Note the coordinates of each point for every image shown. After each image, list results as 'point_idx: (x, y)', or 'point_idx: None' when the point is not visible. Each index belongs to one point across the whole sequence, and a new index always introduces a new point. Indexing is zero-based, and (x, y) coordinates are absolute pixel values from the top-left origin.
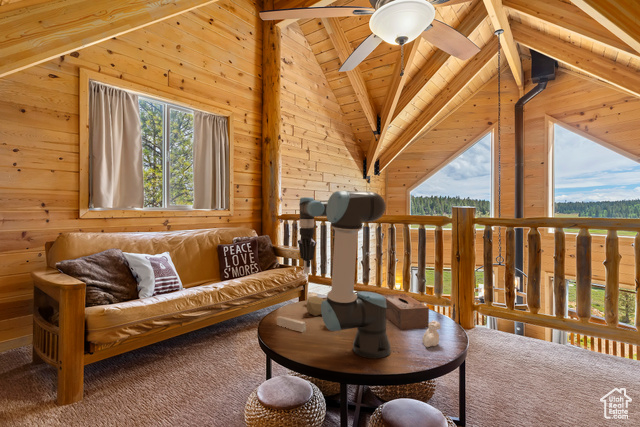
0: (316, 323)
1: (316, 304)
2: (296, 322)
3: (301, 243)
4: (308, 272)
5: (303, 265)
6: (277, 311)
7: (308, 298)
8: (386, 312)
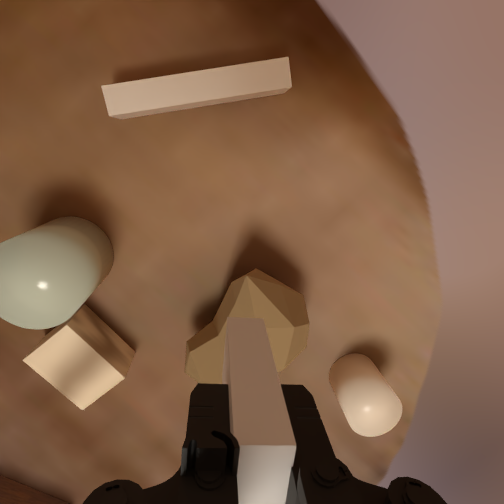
0: (161, 226)
1: (228, 312)
2: (144, 79)
3: None
4: (223, 362)
5: (309, 393)
6: (425, 207)
7: (371, 377)
8: (4, 499)
